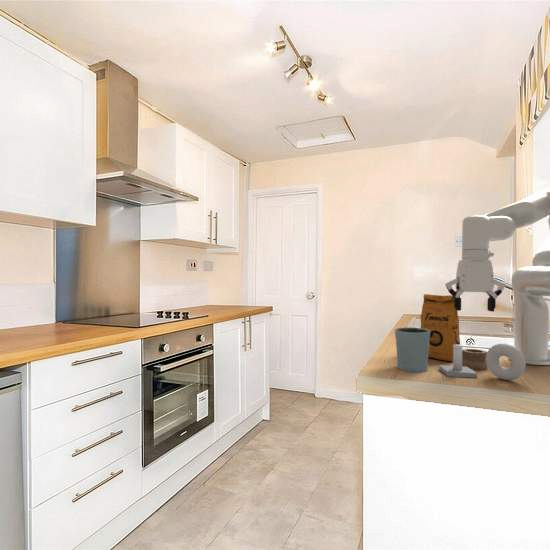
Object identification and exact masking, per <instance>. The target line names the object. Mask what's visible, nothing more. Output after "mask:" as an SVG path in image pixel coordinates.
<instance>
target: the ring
mask: <svg viewBox="0 0 550 550" xmlns="http://www.w3.org/2000/svg"><path fill="white" fill-rule="evenodd" d="M487 352H488V351H486V350H483V349H477V348H462V366H467V367H469V368H471V369H472V370H478V369H484V370H486V369H485V368H487V369H488V367H487V365H486V354H487Z"/></svg>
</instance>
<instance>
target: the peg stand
mask: <svg viewBox="0 0 550 550" xmlns="http://www.w3.org/2000/svg"><path fill="white" fill-rule="evenodd" d="M462 350H463V345H462V344H460V345H453V362H452V365H438V366H439V367H438V369H439V370H441V373H442V374H444V375H445V376H446V377H449V376H451V378H456V377H457V378H459V377H460V378H475V377H477V378H478V375H479V373H478V372H476V371H475V370H474V369H470V368H469V367H467V366H462Z"/></svg>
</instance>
